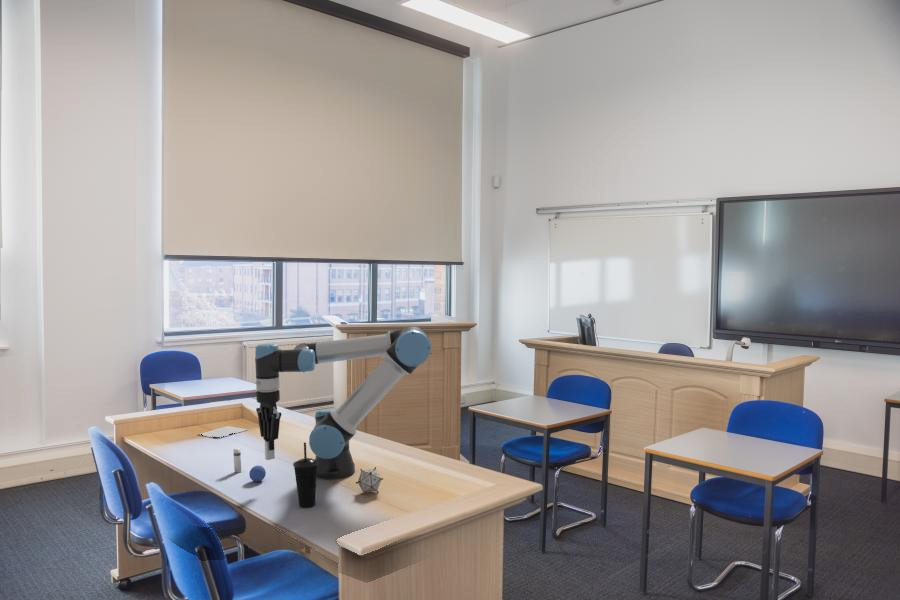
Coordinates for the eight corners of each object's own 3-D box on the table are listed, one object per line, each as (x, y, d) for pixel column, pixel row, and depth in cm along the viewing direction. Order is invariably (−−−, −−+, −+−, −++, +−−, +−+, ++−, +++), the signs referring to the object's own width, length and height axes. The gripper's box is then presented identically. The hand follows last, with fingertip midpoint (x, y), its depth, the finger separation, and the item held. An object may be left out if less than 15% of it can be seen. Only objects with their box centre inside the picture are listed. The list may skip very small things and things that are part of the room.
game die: (373, 505, 219) (376, 487, 212) (350, 495, 220) (352, 477, 214) (385, 484, 225) (388, 466, 219) (362, 474, 227) (365, 456, 221)
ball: (269, 480, 234) (268, 465, 234) (256, 485, 230) (255, 469, 229) (259, 477, 237) (258, 462, 237) (246, 482, 233) (245, 466, 233)
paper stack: (262, 433, 299) (262, 432, 299) (216, 447, 278) (216, 446, 278) (227, 427, 312) (227, 425, 311) (181, 440, 290) (181, 439, 290)
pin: (242, 471, 245) (241, 448, 244) (237, 473, 243) (236, 450, 242) (238, 470, 246) (237, 447, 245) (232, 472, 244) (231, 449, 243)
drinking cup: (321, 500, 214) (319, 439, 212) (317, 509, 206) (315, 445, 205) (297, 501, 213) (295, 439, 212) (292, 510, 206) (290, 446, 205)
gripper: (248, 388, 226) (250, 457, 228) (267, 394, 217) (269, 465, 218) (268, 385, 231) (270, 452, 233) (287, 390, 222) (289, 460, 224)
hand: (270, 458), depth 226 cm, fingers closed
